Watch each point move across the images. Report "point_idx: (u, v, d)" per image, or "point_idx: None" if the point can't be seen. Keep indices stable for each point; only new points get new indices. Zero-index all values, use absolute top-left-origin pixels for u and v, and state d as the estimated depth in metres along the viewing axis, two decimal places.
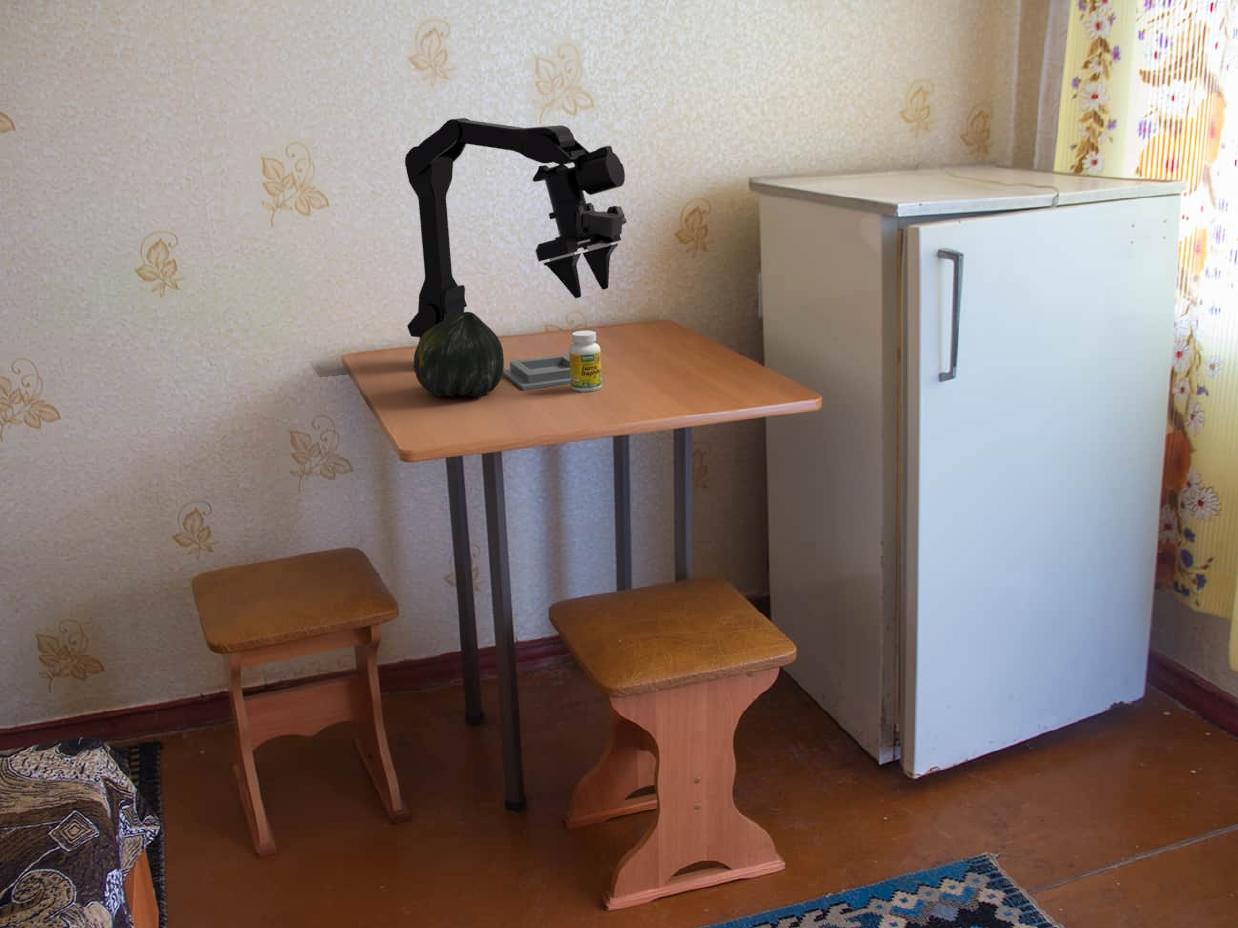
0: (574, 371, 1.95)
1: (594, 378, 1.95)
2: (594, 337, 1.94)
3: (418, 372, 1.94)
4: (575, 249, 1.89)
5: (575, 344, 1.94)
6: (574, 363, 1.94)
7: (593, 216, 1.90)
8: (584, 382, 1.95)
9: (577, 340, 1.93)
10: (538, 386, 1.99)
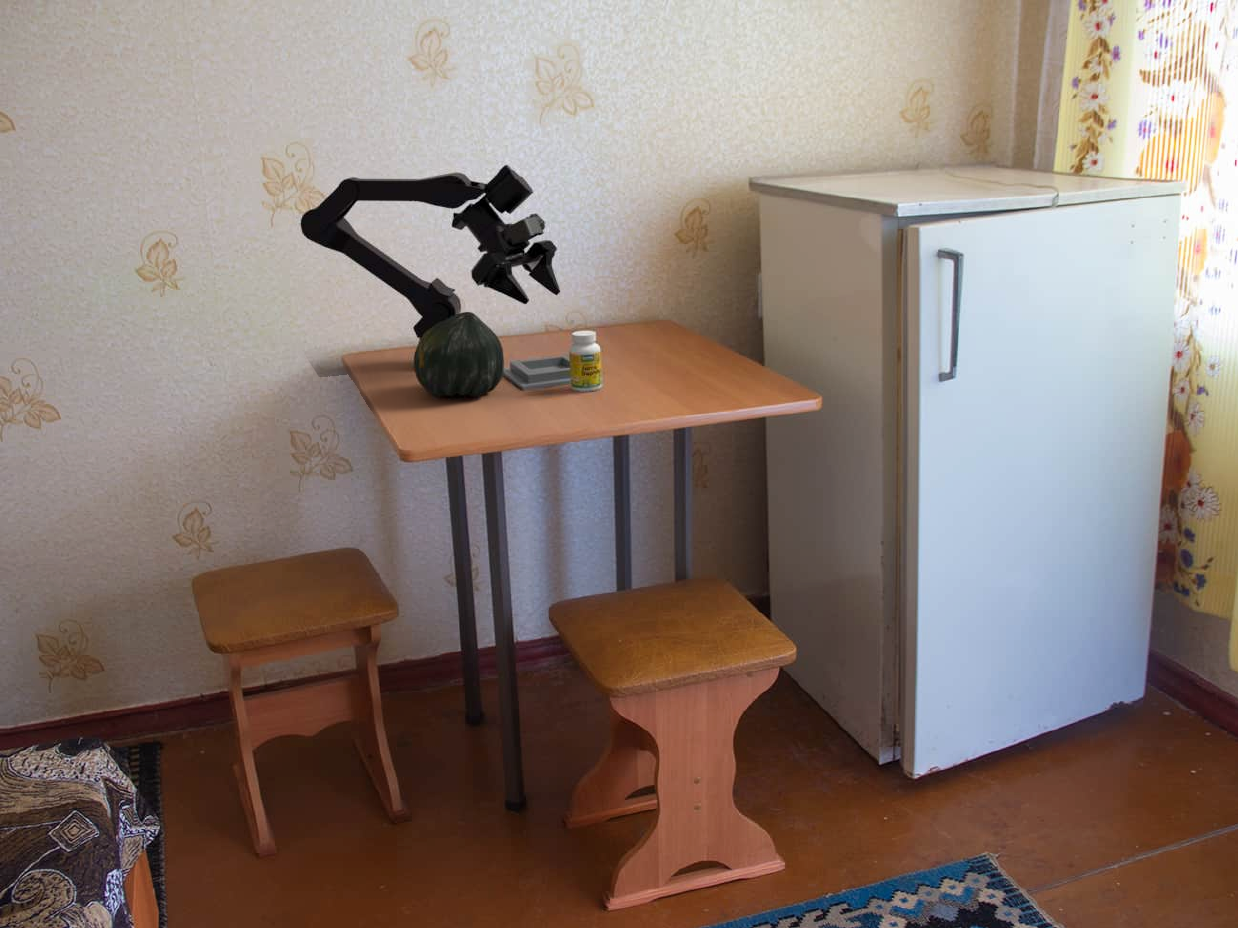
0: (574, 371, 1.95)
1: (594, 378, 1.95)
2: (594, 337, 1.94)
3: (418, 372, 1.94)
4: (502, 258, 1.99)
5: (575, 344, 1.94)
6: (574, 363, 1.94)
7: (509, 227, 2.02)
8: (584, 382, 1.95)
9: (577, 340, 1.93)
10: (538, 386, 1.99)
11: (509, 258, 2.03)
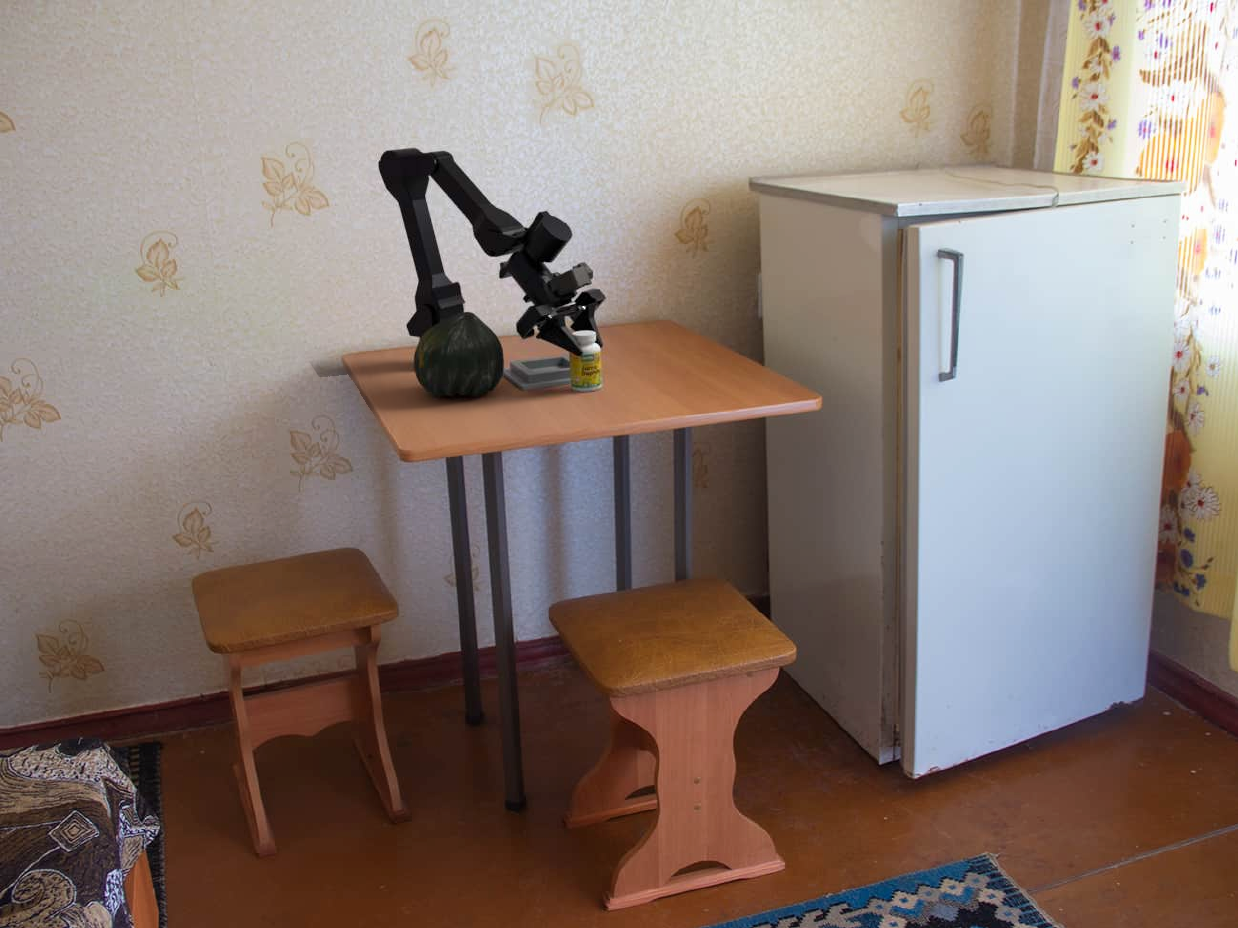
0: (574, 370, 1.95)
1: (594, 378, 1.95)
2: (594, 337, 1.94)
3: (418, 372, 1.94)
4: (549, 311, 1.89)
5: None
6: (574, 363, 1.94)
7: (556, 277, 1.92)
8: (584, 382, 1.95)
9: (577, 340, 1.93)
10: (538, 386, 1.99)
11: (556, 310, 1.93)
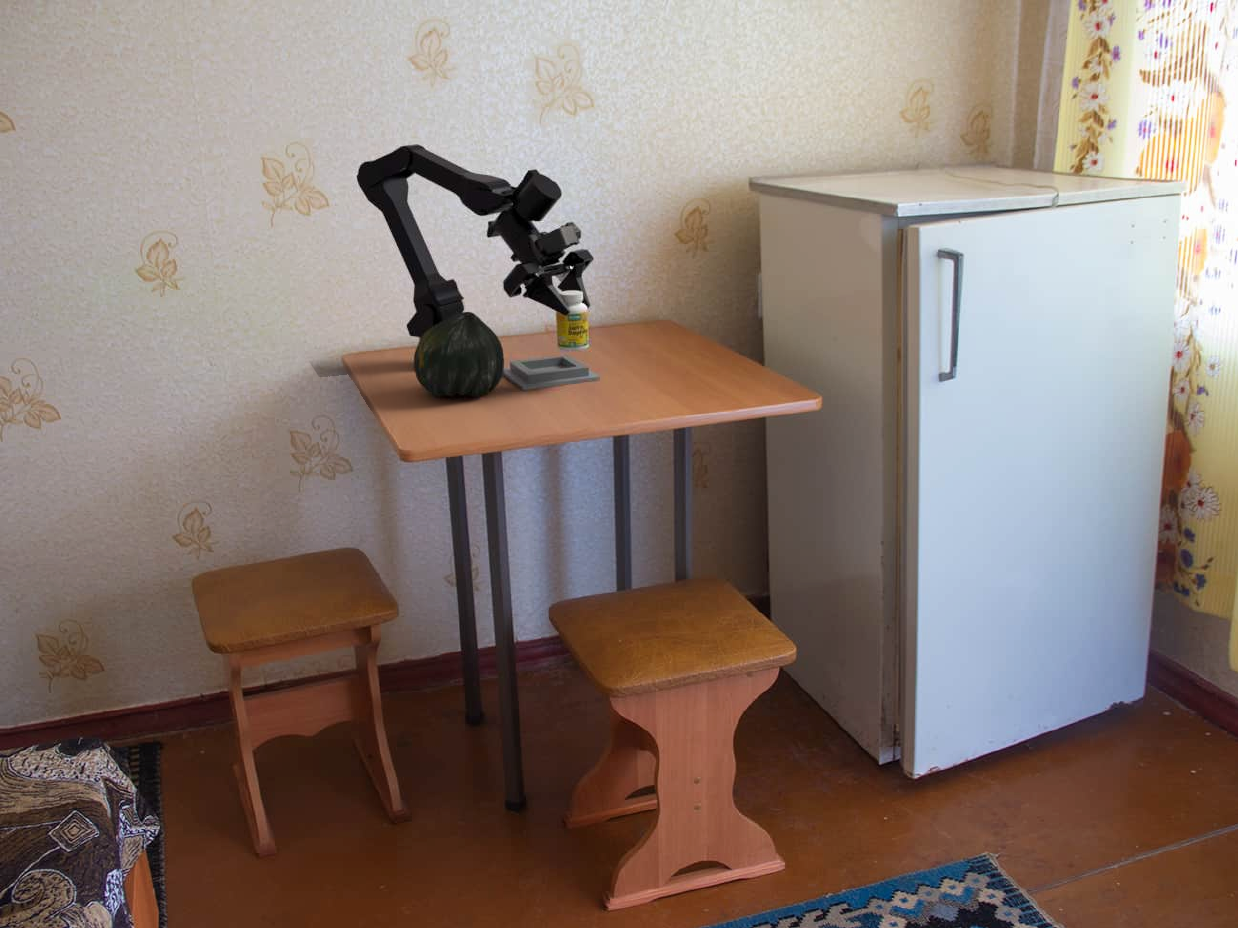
0: (561, 330, 1.95)
1: (581, 337, 1.95)
2: (581, 297, 1.94)
3: (418, 372, 1.94)
4: (536, 269, 1.89)
5: None
6: (561, 323, 1.95)
7: (544, 236, 1.92)
8: (571, 342, 1.95)
9: (564, 299, 1.94)
10: (538, 386, 1.99)
11: (543, 269, 1.94)
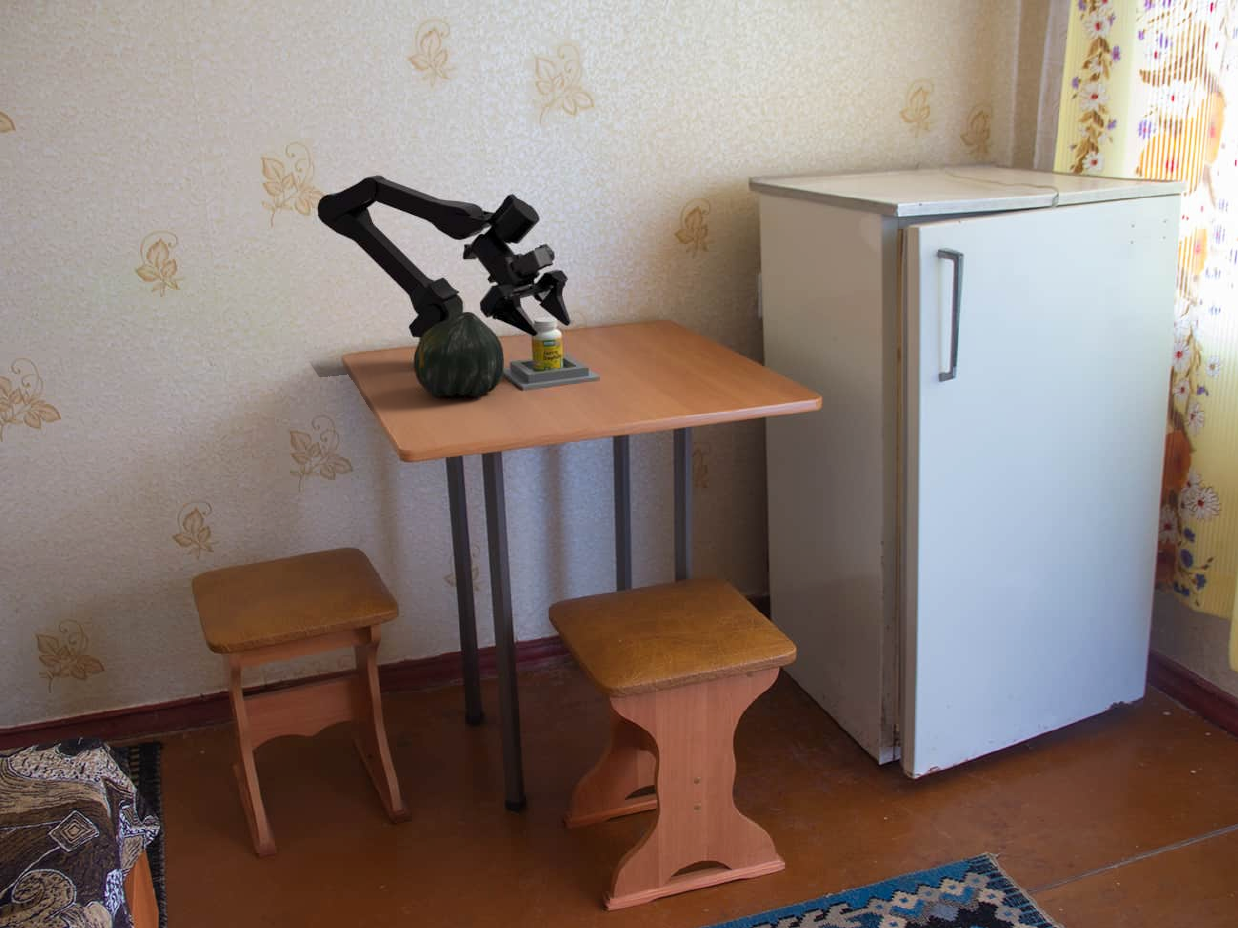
0: (536, 355, 2.03)
1: (555, 362, 2.04)
2: (555, 323, 2.03)
3: (418, 372, 1.94)
4: (511, 290, 1.97)
5: (537, 330, 2.03)
6: (536, 348, 2.03)
7: (518, 258, 2.00)
8: (545, 367, 2.03)
9: (539, 326, 2.02)
10: (538, 386, 1.99)
11: (518, 289, 2.01)
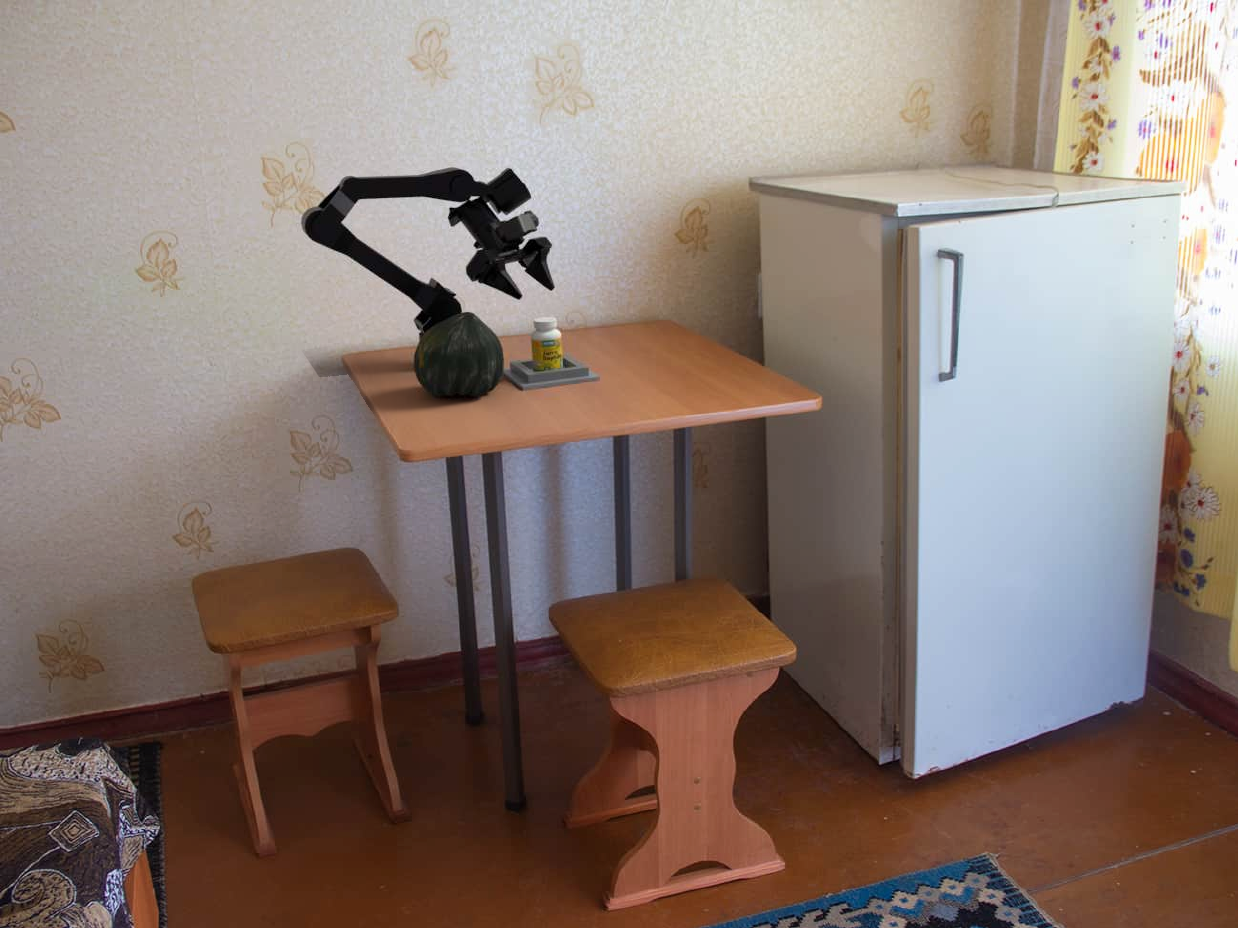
0: (536, 355, 2.03)
1: (555, 362, 2.04)
2: (555, 323, 2.03)
3: (418, 372, 1.94)
4: (496, 255, 2.03)
5: (537, 330, 2.03)
6: (536, 348, 2.03)
7: (503, 224, 2.05)
8: (545, 367, 2.03)
9: (538, 326, 2.02)
10: (538, 386, 1.99)
11: (503, 254, 2.07)
